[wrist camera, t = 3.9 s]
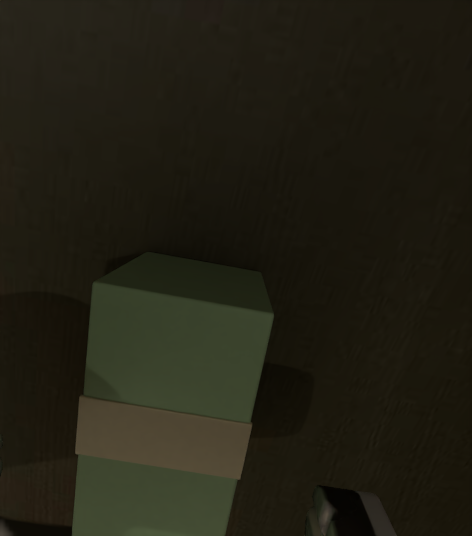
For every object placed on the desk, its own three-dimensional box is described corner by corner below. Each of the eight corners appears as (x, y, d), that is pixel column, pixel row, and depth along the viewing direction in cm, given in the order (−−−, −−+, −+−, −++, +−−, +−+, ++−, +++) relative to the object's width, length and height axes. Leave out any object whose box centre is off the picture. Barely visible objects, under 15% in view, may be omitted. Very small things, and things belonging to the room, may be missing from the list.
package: (124, 428, 15) (68, 541, 10) (145, 250, 13) (88, 281, 8) (226, 445, 15) (221, 564, 10) (262, 271, 13) (277, 315, 8)
